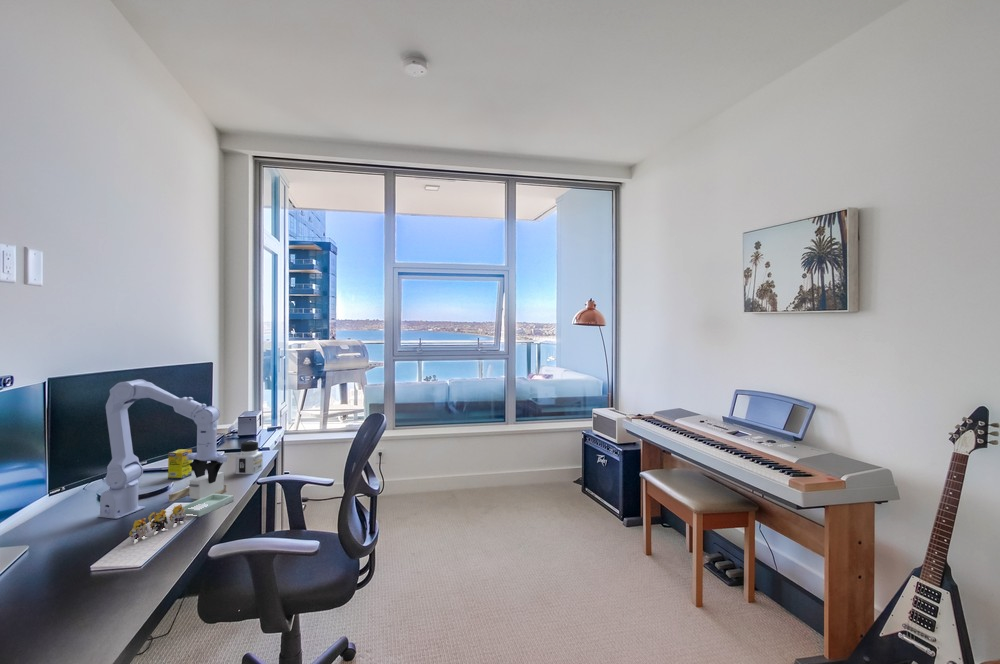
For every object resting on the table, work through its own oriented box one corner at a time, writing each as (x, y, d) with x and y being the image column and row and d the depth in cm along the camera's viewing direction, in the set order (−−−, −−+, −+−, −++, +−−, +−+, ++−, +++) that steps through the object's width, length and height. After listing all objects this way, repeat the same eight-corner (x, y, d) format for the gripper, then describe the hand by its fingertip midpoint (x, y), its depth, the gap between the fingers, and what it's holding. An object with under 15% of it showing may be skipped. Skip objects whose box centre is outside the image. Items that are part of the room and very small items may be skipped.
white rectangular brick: (197, 499, 150) (198, 481, 150) (187, 498, 151) (188, 480, 151) (223, 489, 160) (223, 472, 160) (213, 488, 161) (214, 471, 161)
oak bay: (196, 504, 158) (196, 497, 158) (168, 501, 161) (168, 494, 161) (226, 491, 171) (226, 485, 171) (200, 489, 174) (200, 482, 174)
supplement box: (182, 479, 185) (182, 453, 185) (167, 479, 185) (167, 452, 185) (192, 475, 190) (192, 449, 190) (178, 474, 191) (178, 449, 191)
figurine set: (125, 543, 129) (125, 520, 129) (181, 521, 145) (181, 500, 145) (133, 545, 128) (133, 522, 128) (189, 522, 144) (189, 502, 144)
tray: (198, 517, 148) (198, 511, 148) (176, 514, 149) (176, 508, 149) (233, 501, 162) (233, 495, 162) (213, 499, 164) (213, 493, 164)
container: (253, 474, 192) (253, 444, 192) (235, 474, 192) (235, 443, 192) (262, 469, 200) (263, 439, 200) (245, 468, 200) (245, 439, 200)
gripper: (234, 441, 158) (233, 479, 158) (199, 438, 161) (198, 476, 161) (217, 445, 151) (217, 486, 151) (181, 443, 154) (181, 483, 154)
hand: (206, 481), depth 156 cm, fingers closed on white rectangular brick, 4 cm apart
